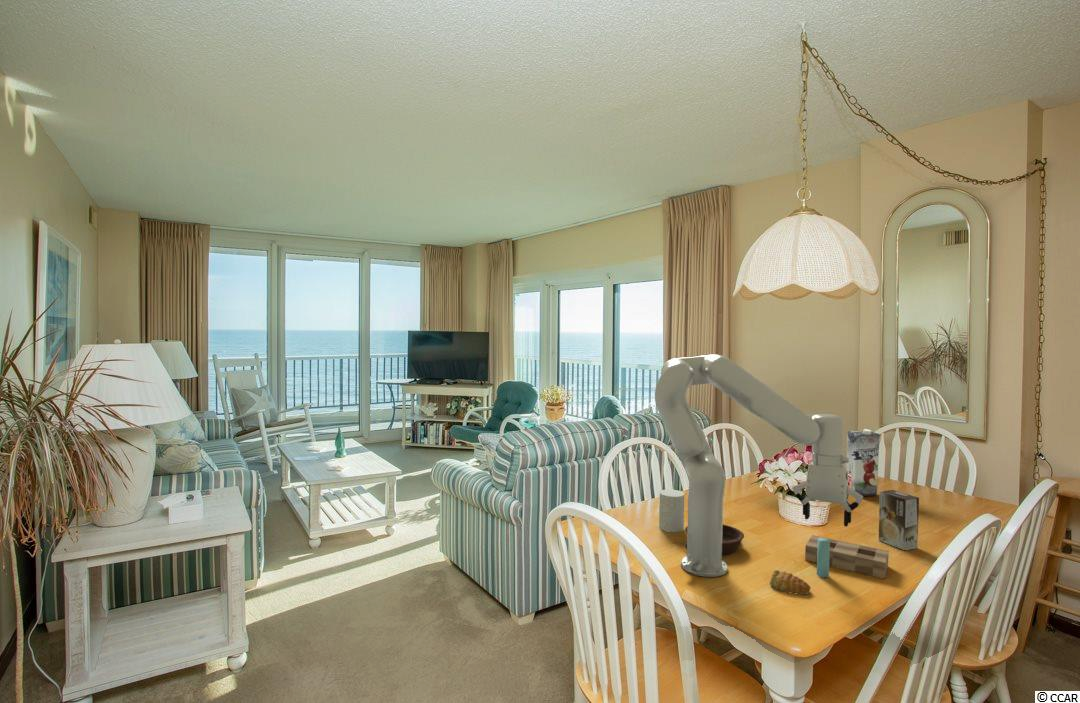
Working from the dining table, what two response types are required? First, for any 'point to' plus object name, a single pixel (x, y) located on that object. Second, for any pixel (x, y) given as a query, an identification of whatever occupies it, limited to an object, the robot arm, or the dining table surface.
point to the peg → (823, 557)
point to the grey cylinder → (671, 510)
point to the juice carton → (863, 461)
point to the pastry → (789, 583)
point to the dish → (728, 539)
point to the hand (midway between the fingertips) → (826, 521)
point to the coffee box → (898, 519)
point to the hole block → (851, 556)
